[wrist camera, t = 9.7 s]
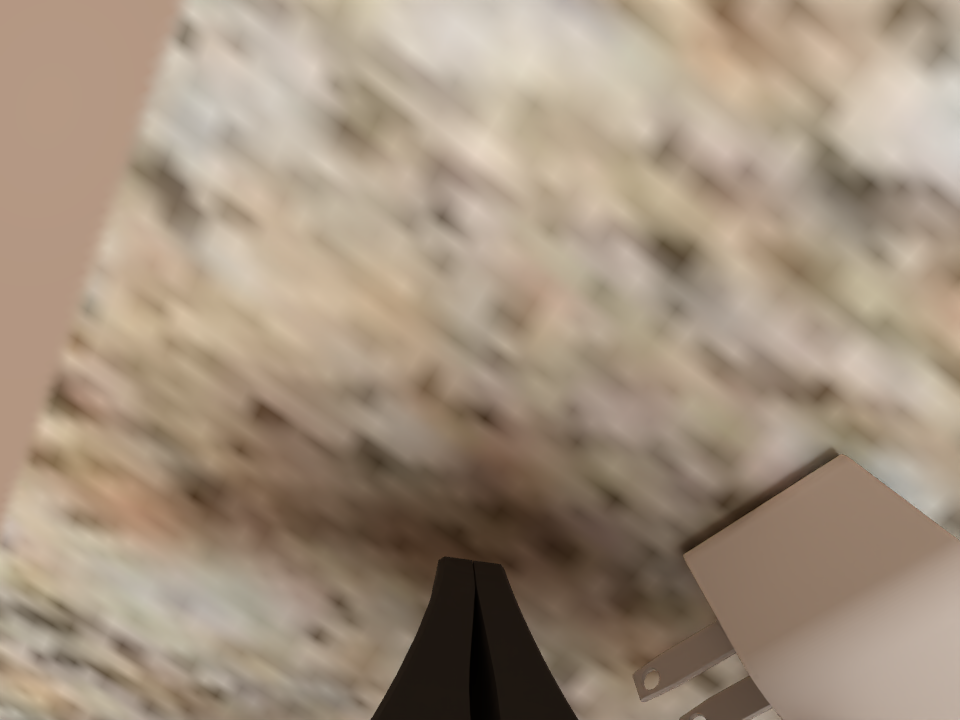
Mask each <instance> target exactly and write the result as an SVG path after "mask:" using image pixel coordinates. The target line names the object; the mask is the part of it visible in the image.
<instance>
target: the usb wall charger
mask: <svg viewBox="0 0 960 720" xmlns="http://www.w3.org/2000/svg"><path fill="white" fill-rule="evenodd" d="M683 557H684V560H685V562H686V564H687V565H688V567H689V569H690V571H691V573H692V574H693V576H694V578H695V580H696V581H697V583H698V585H699V587H700V589H701V590H702V592H703V594H704V596H705V598H706V599H707V601H708V603H709V605H710V607H711V608H712V610H713V612H714V614H715V615H716V617H717V619H718V620H717V621H716V622H714V623H712V624H711V625H709V626H707V627H705V628H704V629H702V630H700V631H699V632H697V633H695V634H694V635H692V636H690V637H689V638H687V639H685V640H683V641H682V642H680V643H678V644H677V645H675V646H673V647H672V648H670V649H668V650H667V651H665V652H663V653H662V654H660V655H659V656H657V657H656V658H655V659H653V660H652V661H650V662H649V663H648V664H646V665H645V666H643V667H642V668H640V669H639V670H638V671H636V672H635V673H634V674H633V679H634V682H635V685H636V688H637V691H638V694H639V697H640V700H641V702H646V701H648V700H651V699H653V698H655V697H657V696H659V695H661V694H663V693H665V692H667V691H669V690H672V689H674V688H676V687H678V686H680V685H681V684H683V683H685V682H687V681H688V680H690V679H692V678H694V677H695V676H697V675H699V674H701V673H702V672H704V671H706V670H707V669H709V668H711V667H713V666H714V665H716V664H718V663H720V662H721V661H723V660H725V659H727V658H728V657H730V656H732V655H734V654H735V653H737V655H738V657H739V658H740V660H741V662H742V664H743V665H744V667H745V669H746V670H747V672H748V673H749V675H750V676H748V677H746V678H744V679H742V680H741V681H739V682H737V683H735V684H734V685H732V686H730V687H728V688H726V689H725V690H723V691H721V692H719V693H717V694H716V695H714V696H712V697H710V698H708V699H707V700H705V701H704V702H703V703H701V704H700V705H698V706H697V707H695V708H694V709H692V710H691V711H689V712H688V713H686V714H685V715H683V716H682V717H681V718H680V719H679V720H693V719H694V718H695V717H697V716H704V717H705V718H706V720H751V719H753V718H754V717H756V716H758V715H760V714H762V713H764V712H766V711H767V710H769V709H771V708H773V709H774V710H775V711H776V712H777V714H778V715H779V716H780V717H781V718H782V719H783V720H960V541H959V540H958V539H956V538H955V537H954V536H953V535H951V534H950V533H949V532H947V531H946V530H945V529H943V528H942V527H941V526H939V525H938V524H937V523H935V522H934V521H933V520H931V519H930V518H929V517H927V516H926V515H925V514H923V513H922V512H921V511H919V510H918V509H917V508H915V507H914V506H913V505H911V504H910V503H909V502H907V501H906V500H905V499H903V498H902V497H901V496H899V495H898V494H897V493H895V492H894V491H893V490H891V489H890V488H889V487H887V486H886V485H885V484H883V483H882V482H881V481H879V480H878V479H877V478H875V477H874V476H873V475H872V474H870V473H869V472H868V471H866V470H865V469H864V468H862V467H861V466H860V465H858V464H857V463H856V462H854V461H853V460H852V459H850V458H849V457H847V456H845V455H843V454H840V455H839V456H837V457H836V458H834V459H833V460H831V461H829V462H828V463H826V464H825V465H823V466H822V467H820V468H818V469H817V470H815V471H814V472H812V473H811V474H809V475H807V476H806V477H804V478H803V479H801V480H800V481H798V482H796V483H795V484H793V485H792V486H790V487H789V488H787V489H785V490H784V491H782V492H781V493H779V494H778V495H776V496H774V497H773V498H771V499H770V500H768V501H767V502H765V503H763V504H762V505H760V506H759V507H757V508H756V509H754V510H752V511H751V512H749V513H748V514H746V515H745V516H743V517H741V518H740V519H738V520H737V521H735V522H734V523H732V524H730V525H729V526H727V527H726V528H724V529H723V530H721V531H719V532H718V533H716V534H715V535H713V536H712V537H710V538H708V539H707V540H705V541H704V542H702V543H701V544H699V545H697V546H696V547H694V548H693V549H691V550H690V551H688V552H686V553H685V554H683ZM651 671H657V672H658V673H659V676H660V679H659V683H658V685H657V686H656V687H655V688H654V689H651V690H648V689H646V688H645V686H644V680H645V677H646V676H647V674H648V673H649V672H651Z"/></svg>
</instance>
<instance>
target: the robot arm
mask: <svg viewBox="0 0 960 720" xmlns="http://www.w3.org/2000/svg"><path fill="white" fill-rule="evenodd" d="M371 720H578V718H577V717H576V715H575V714H574V712H573V710H572V709H571V707H570V705H569V704H568V702H567V700H566V699H565V697H564V695H563V693H562V692H561V690H560V688H559V686H558V685H557V683H556V681H555V679H554V677H553V676H552V674H551V672H550V670H549V668H548V666H547V664H546V662H545V661H544V659H543V657H542V655H541V653H540V651H539V649H538V647H537V645H536V643H535V641H534V639H533V636H532V634H531V632H530V630H529V628H528V626H527V624H526V622H525V620H524V617H523V615H522V613H521V610H520V608H519V606H518V604H517V601H516V599H515V596H514V594H513V591H512V589H511V586H510V584H509V581H508V579H507V576H506V573H505V570H504V568H503V567H502V566H501V564H494V563H487V562H480V561H473V564H472V560H466V559H458V558H451V557H443V558H442V559H440V560H439V562H438V566H437V571H436V576H435V581H434V585H433V590H432V595H431V598H430V601H429V604H428V607H427V610H426V612H425V614H424V617H423V619H422V622H421V624H420V627H419V629H418V632H417V634H416V636H415V638H414V641H413V643H412V645H411V647H410V649H409V651H408V653H407V655H406V657H405V659H404V661H403V663H402V665H401V667H400V669H399V671H398V673H397V675H396V677H395V678H394V680H393V682H392V684H391V686H390V688H389V689H388V691H387V693H386V695H385V696H384V698H383V700H382V702H381V703H380V705H379V707H378V708H377V710H376V712H375V714H374V715H373V717H372V718H371Z"/></svg>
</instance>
